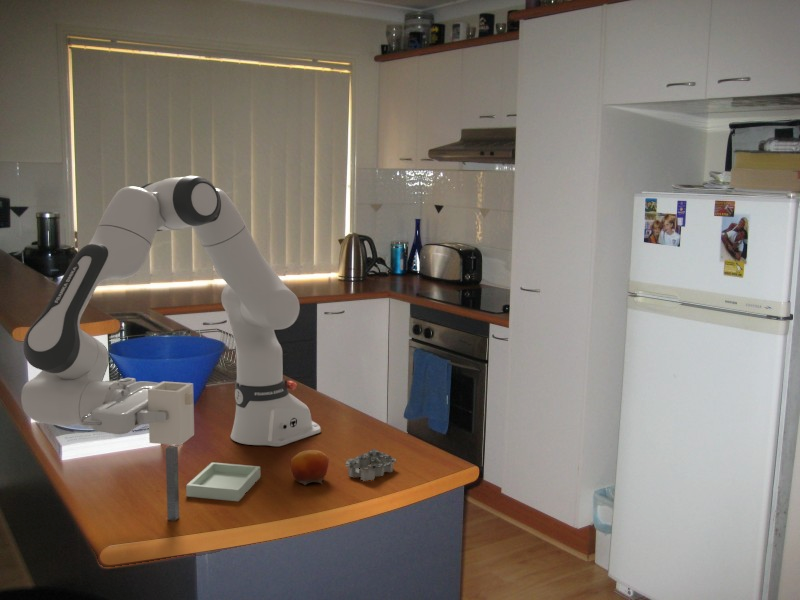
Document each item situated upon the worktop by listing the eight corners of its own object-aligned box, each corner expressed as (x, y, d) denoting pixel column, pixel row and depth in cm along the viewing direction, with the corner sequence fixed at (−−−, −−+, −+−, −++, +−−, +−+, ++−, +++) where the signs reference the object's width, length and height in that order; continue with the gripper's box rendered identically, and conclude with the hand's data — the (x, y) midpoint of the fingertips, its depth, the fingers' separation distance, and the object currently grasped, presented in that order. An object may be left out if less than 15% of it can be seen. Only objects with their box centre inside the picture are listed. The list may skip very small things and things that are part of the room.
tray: (212, 472, 174) (211, 462, 173) (260, 477, 172) (260, 466, 172) (186, 496, 161) (186, 485, 161) (238, 501, 159) (238, 490, 159)
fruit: (299, 487, 164) (294, 448, 166) (290, 493, 170) (285, 456, 173) (337, 481, 167) (331, 444, 169) (326, 488, 174) (321, 451, 176)
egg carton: (367, 485, 170) (367, 466, 169) (341, 475, 175) (341, 458, 174) (399, 471, 178) (399, 453, 177) (374, 462, 183) (374, 445, 182)
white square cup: (164, 432, 152) (163, 381, 150) (199, 435, 151) (198, 383, 149) (149, 442, 146) (147, 389, 144) (185, 445, 145) (184, 392, 143)
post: (171, 516, 152) (169, 446, 150) (179, 517, 152) (177, 446, 149) (167, 520, 150) (165, 448, 148) (175, 520, 150) (173, 449, 148)
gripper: (74, 405, 139) (148, 410, 137) (132, 375, 159) (198, 379, 157) (76, 439, 140) (150, 445, 138) (133, 405, 160) (198, 410, 158)
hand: (176, 410), depth 147 cm, fingers closed on white square cup, 6 cm apart
